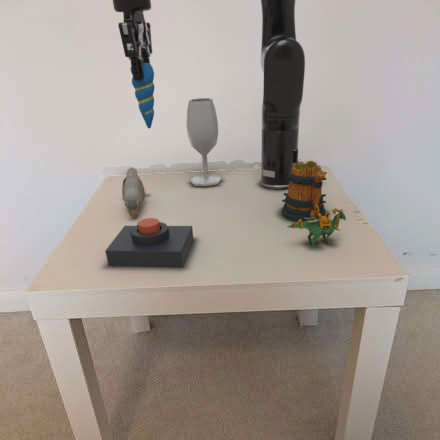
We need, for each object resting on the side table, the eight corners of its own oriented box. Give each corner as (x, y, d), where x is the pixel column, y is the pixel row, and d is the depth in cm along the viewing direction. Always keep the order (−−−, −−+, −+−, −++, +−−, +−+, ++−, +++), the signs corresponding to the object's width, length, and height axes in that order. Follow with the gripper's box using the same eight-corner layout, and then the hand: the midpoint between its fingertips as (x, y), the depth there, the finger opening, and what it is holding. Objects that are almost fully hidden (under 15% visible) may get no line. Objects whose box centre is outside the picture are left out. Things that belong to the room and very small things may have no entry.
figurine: (347, 243, 76) (352, 202, 72) (288, 253, 74) (290, 212, 69) (339, 236, 79) (344, 196, 74) (282, 246, 76) (284, 205, 72)
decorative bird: (122, 220, 91) (116, 188, 87) (126, 196, 105) (120, 167, 101) (146, 217, 92) (141, 185, 88) (146, 194, 105) (142, 165, 101)
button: (162, 226, 76) (161, 217, 75) (157, 235, 73) (155, 226, 72) (142, 226, 76) (140, 217, 75) (136, 235, 73) (134, 226, 72)
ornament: (136, 127, 95) (125, 55, 87) (157, 125, 97) (147, 53, 88) (142, 131, 91) (130, 55, 83) (163, 128, 93) (154, 53, 84)
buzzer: (193, 240, 81) (191, 217, 78) (182, 267, 72) (179, 242, 69) (127, 239, 83) (122, 217, 80) (108, 266, 73) (102, 241, 71)
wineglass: (221, 186, 107) (217, 101, 96) (189, 188, 108) (181, 103, 96) (222, 176, 115) (218, 96, 103) (191, 178, 115) (184, 98, 103)
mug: (274, 208, 93) (275, 157, 86) (315, 202, 94) (319, 152, 88) (294, 230, 82) (297, 175, 75) (340, 224, 83) (347, 169, 77)
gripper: (135, -24, 72) (150, 81, 82) (157, -17, 84) (167, 74, 93) (96, -20, 73) (115, 83, 83) (123, -14, 85) (136, 76, 94)
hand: (142, 78), depth 88 cm, fingers closed on ornament, 5 cm apart
